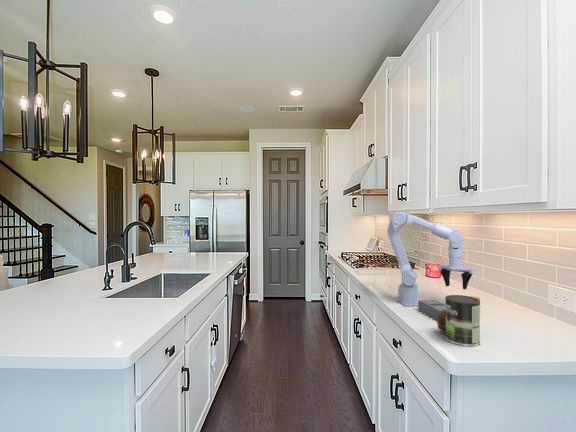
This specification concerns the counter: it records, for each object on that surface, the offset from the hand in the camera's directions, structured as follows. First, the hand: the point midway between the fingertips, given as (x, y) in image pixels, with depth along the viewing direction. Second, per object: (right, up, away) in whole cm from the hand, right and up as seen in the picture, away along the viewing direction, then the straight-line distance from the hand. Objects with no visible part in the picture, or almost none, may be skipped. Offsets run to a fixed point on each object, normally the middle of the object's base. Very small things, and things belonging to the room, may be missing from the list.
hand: (456, 287), depth 143 cm
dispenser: (-13, -10, -10) cm, 19 cm away
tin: (-15, -10, -28) cm, 33 cm away
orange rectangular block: (0, -9, -8) cm, 12 cm away
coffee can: (-17, -10, -36) cm, 41 cm away
